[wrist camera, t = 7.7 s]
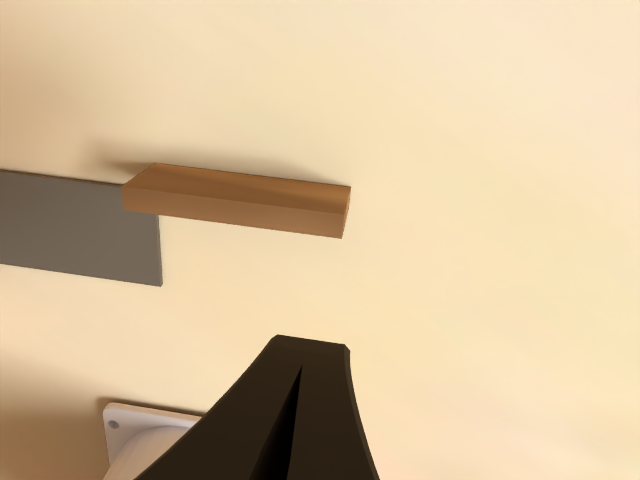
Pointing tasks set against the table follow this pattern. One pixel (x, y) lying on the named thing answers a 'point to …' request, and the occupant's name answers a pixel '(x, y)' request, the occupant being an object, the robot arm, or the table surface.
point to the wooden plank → (239, 199)
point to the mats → (76, 229)
